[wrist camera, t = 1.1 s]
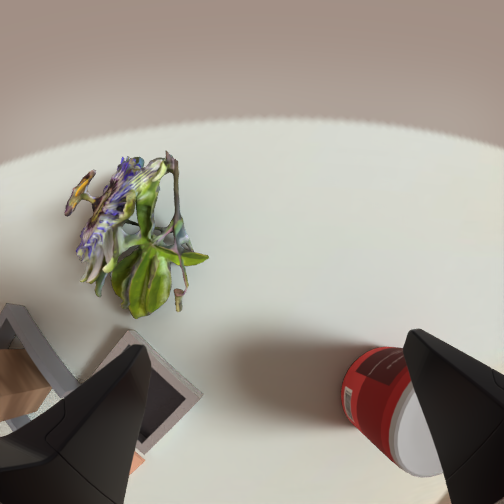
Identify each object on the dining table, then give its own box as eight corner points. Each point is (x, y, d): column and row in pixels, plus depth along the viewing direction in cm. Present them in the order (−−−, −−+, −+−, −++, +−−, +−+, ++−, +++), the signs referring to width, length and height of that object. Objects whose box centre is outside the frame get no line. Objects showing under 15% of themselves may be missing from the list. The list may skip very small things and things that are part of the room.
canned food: (377, 442, 21) (438, 493, 10) (318, 397, 22) (363, 445, 11) (428, 377, 22) (508, 394, 11) (376, 328, 23) (452, 326, 12)
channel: (82, 386, 22) (65, 391, 19) (41, 441, 20) (25, 448, 17) (24, 306, 24) (6, 303, 21) (-9, 367, 22) (-26, 368, 19)
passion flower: (141, 242, 31) (111, 140, 23) (234, 255, 28) (220, 133, 21) (83, 319, 23) (20, 206, 15) (188, 354, 20) (135, 212, 12)
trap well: (203, 394, 22) (200, 398, 21) (149, 448, 21) (144, 454, 19) (134, 330, 23) (127, 330, 22) (88, 387, 22) (79, 390, 20)
